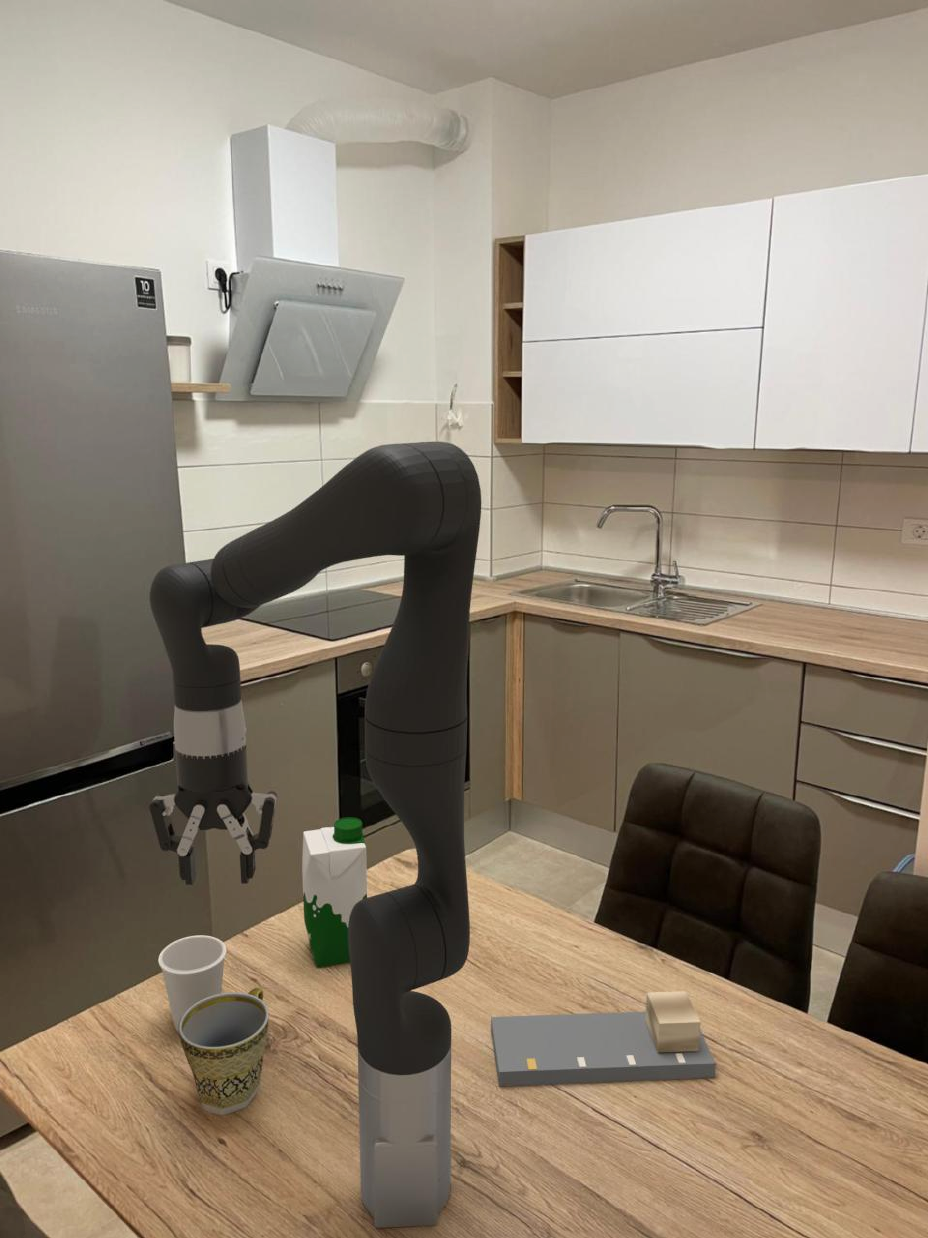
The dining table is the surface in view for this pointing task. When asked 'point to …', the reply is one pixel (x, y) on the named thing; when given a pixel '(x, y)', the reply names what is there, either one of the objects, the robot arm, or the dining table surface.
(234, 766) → the robot arm
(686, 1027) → the knob
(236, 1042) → the ceramic cup
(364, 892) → the soya milk
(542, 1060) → the board
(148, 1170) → the dining table surface
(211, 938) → the dixie cup
